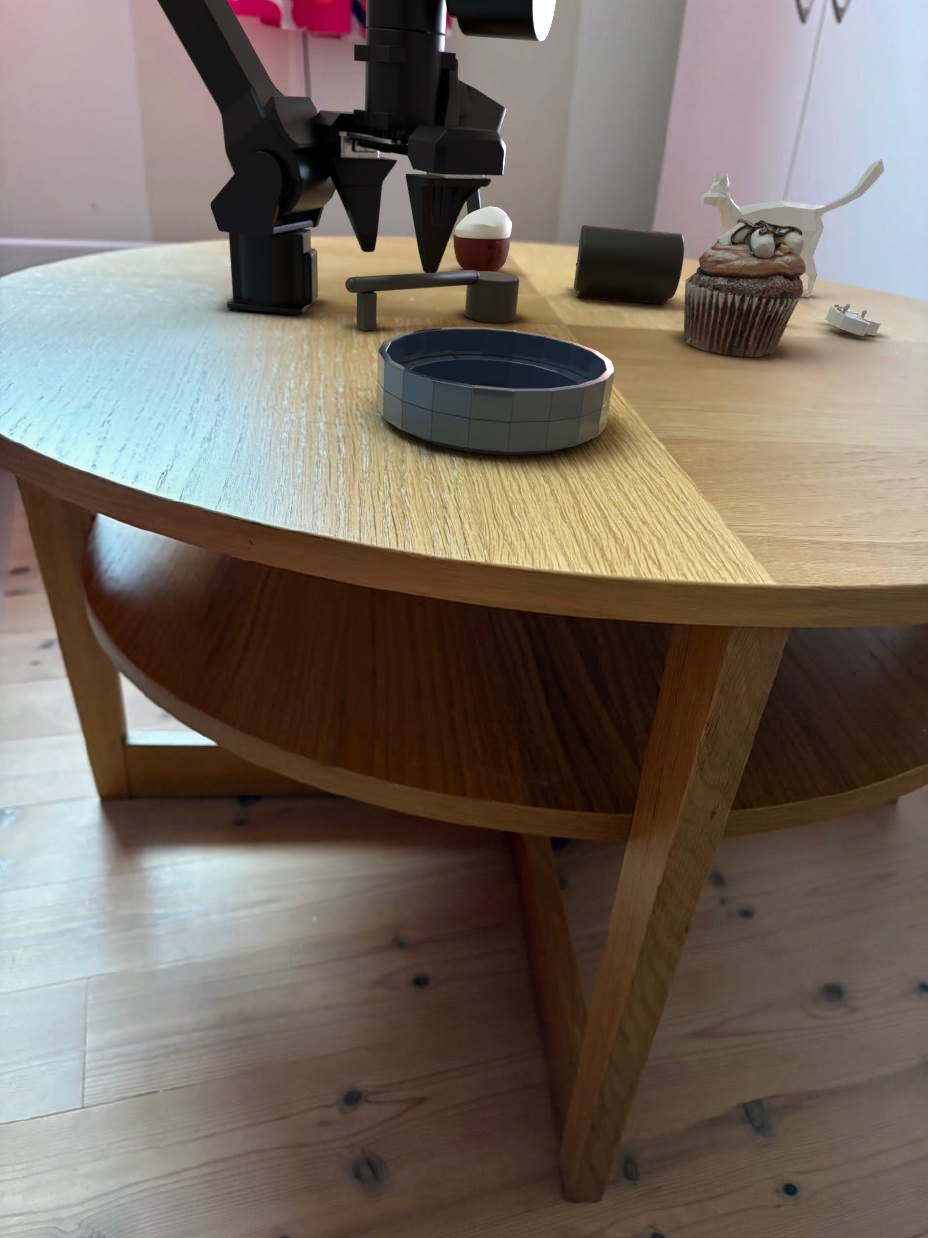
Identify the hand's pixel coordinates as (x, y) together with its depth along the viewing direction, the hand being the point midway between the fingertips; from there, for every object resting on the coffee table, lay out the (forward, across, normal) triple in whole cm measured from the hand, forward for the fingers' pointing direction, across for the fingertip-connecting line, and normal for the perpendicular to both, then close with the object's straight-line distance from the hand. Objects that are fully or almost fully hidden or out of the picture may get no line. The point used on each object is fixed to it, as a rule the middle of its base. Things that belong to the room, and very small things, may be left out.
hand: (397, 261), depth 72 cm
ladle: (+5, 0, -4) cm, 6 cm away
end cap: (+5, +2, -28) cm, 29 cm away
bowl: (+5, -23, +8) cm, 25 cm away
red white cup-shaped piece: (+5, +19, -23) cm, 30 cm away
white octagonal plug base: (+5, -15, -38) cm, 41 cm away
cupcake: (+5, -16, -24) cm, 29 cm away
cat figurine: (+5, -1, -50) cm, 50 cm away
